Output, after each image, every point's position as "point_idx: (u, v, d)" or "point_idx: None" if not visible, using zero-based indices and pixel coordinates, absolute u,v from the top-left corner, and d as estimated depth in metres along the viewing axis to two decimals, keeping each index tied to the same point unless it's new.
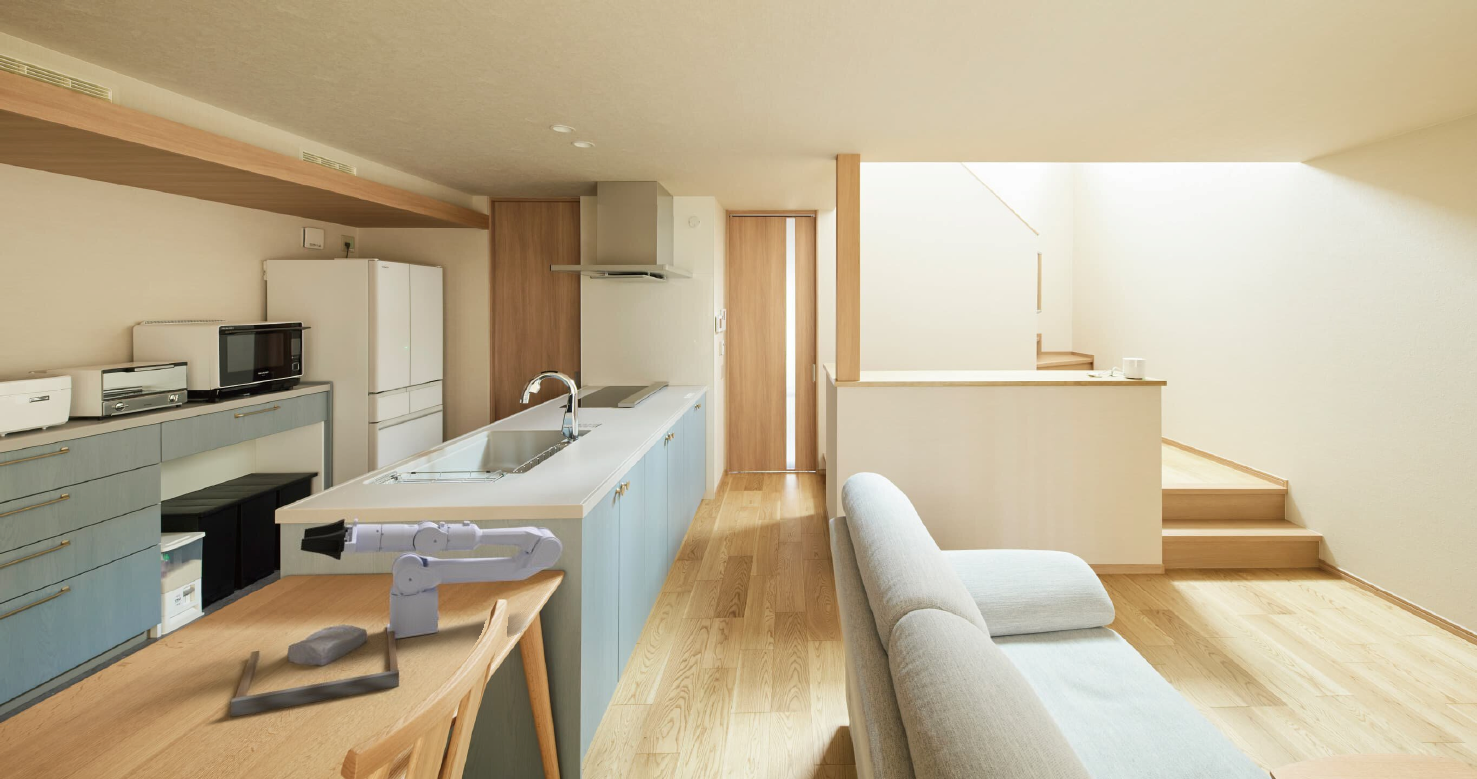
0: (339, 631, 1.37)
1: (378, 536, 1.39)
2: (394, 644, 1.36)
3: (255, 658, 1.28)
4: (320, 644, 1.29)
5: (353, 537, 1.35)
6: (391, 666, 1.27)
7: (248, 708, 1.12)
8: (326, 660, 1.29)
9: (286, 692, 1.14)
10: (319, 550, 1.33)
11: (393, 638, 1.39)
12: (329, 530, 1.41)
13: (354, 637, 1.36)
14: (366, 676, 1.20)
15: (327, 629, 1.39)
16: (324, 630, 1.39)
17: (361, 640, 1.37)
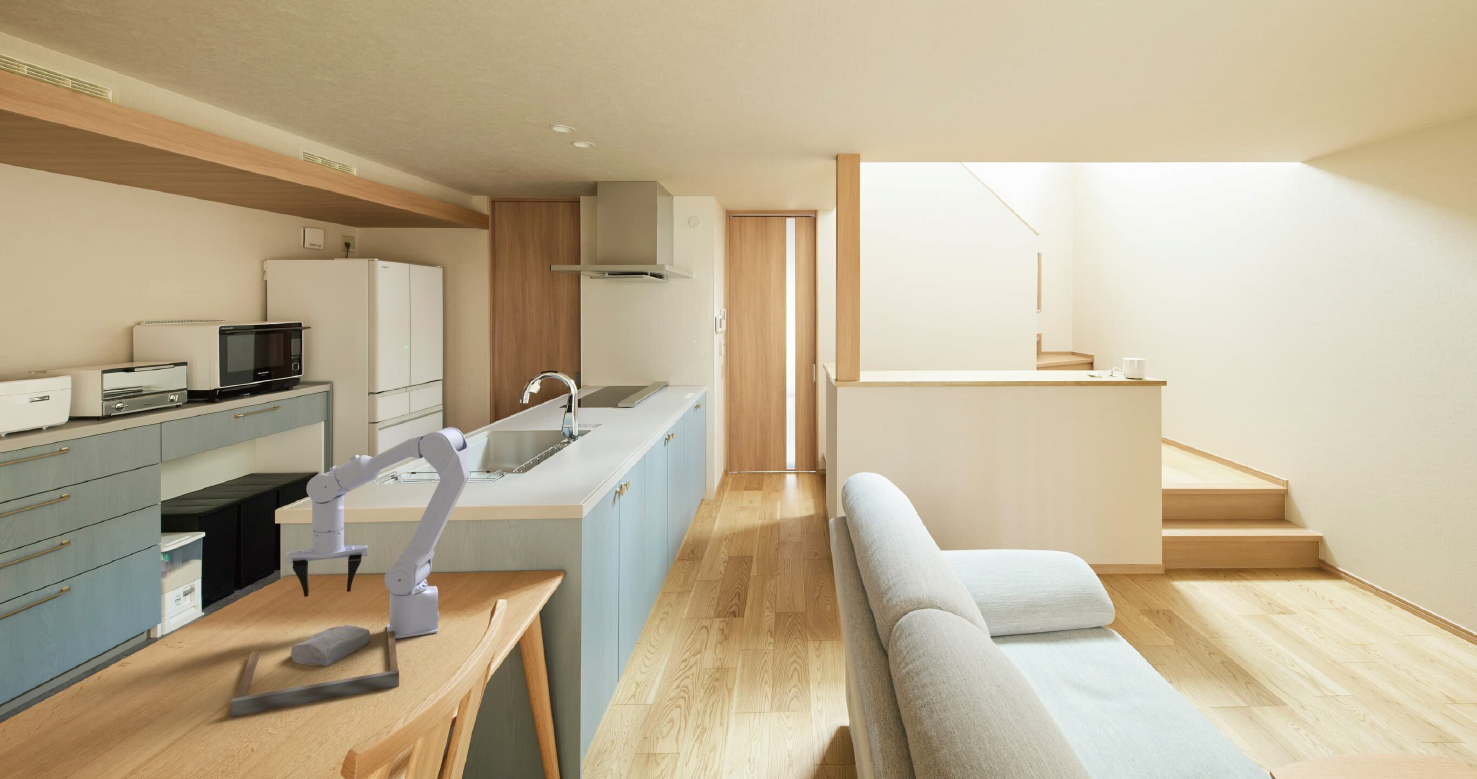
0: (342, 631, 1.37)
1: None
2: (394, 644, 1.36)
3: (255, 658, 1.28)
4: (323, 645, 1.29)
5: None
6: (391, 666, 1.27)
7: (248, 708, 1.12)
8: (330, 660, 1.29)
9: (286, 692, 1.14)
10: None
11: (393, 638, 1.39)
12: None
13: (357, 637, 1.36)
14: (366, 676, 1.20)
15: (330, 629, 1.39)
16: (327, 630, 1.38)
17: (364, 640, 1.37)
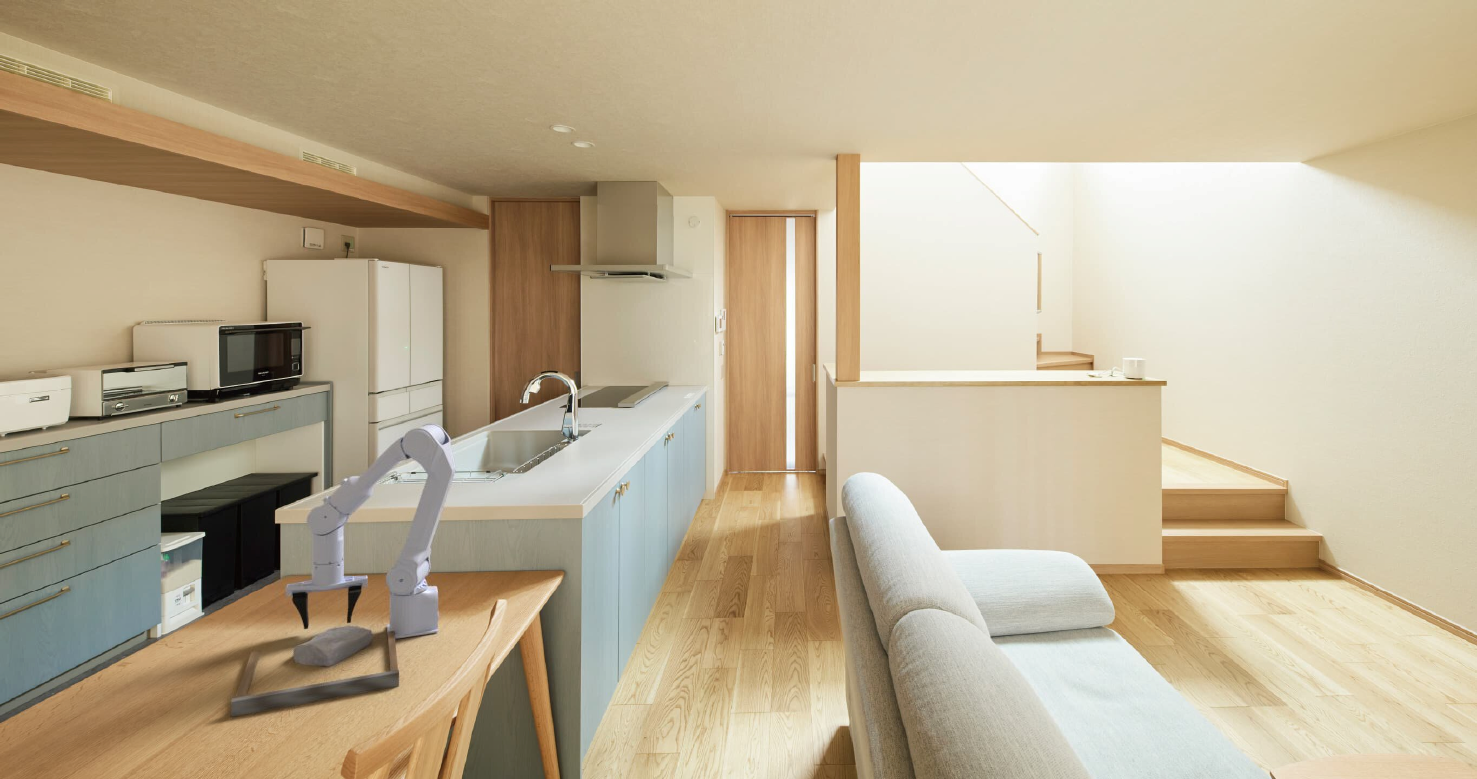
0: (345, 632, 1.36)
1: None
2: (394, 644, 1.36)
3: (255, 658, 1.28)
4: (326, 645, 1.29)
5: None
6: (391, 666, 1.27)
7: (248, 708, 1.12)
8: (332, 661, 1.29)
9: (286, 692, 1.14)
10: None
11: (393, 638, 1.39)
12: None
13: (360, 638, 1.35)
14: (366, 676, 1.20)
15: (332, 630, 1.39)
16: (329, 631, 1.38)
17: (366, 641, 1.37)
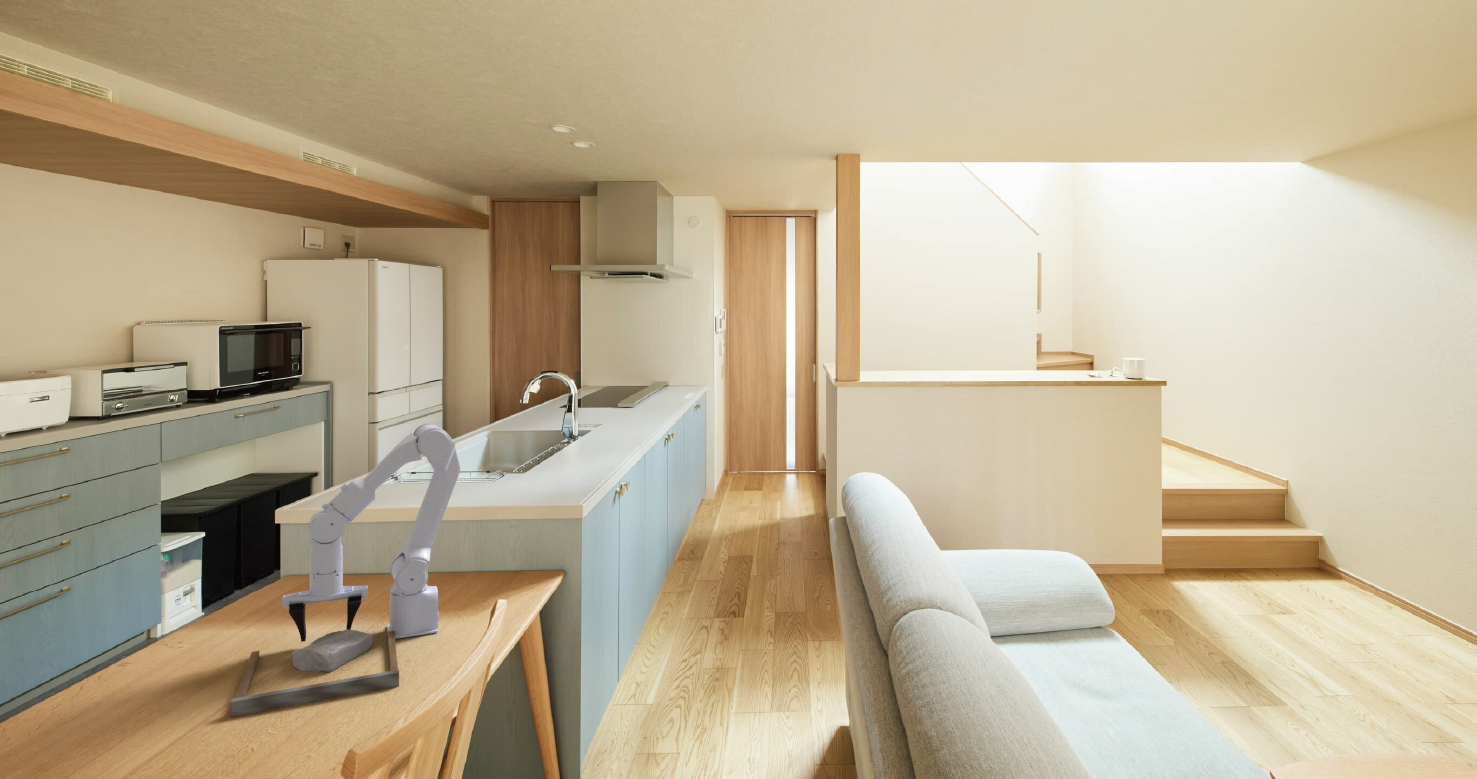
0: (344, 636, 1.34)
1: None
2: (394, 644, 1.36)
3: (255, 658, 1.28)
4: (326, 650, 1.27)
5: None
6: (391, 666, 1.27)
7: (248, 708, 1.12)
8: (332, 665, 1.27)
9: (286, 692, 1.14)
10: None
11: (393, 638, 1.39)
12: None
13: (360, 642, 1.33)
14: (366, 676, 1.20)
15: (331, 634, 1.36)
16: (328, 635, 1.36)
17: (366, 645, 1.35)
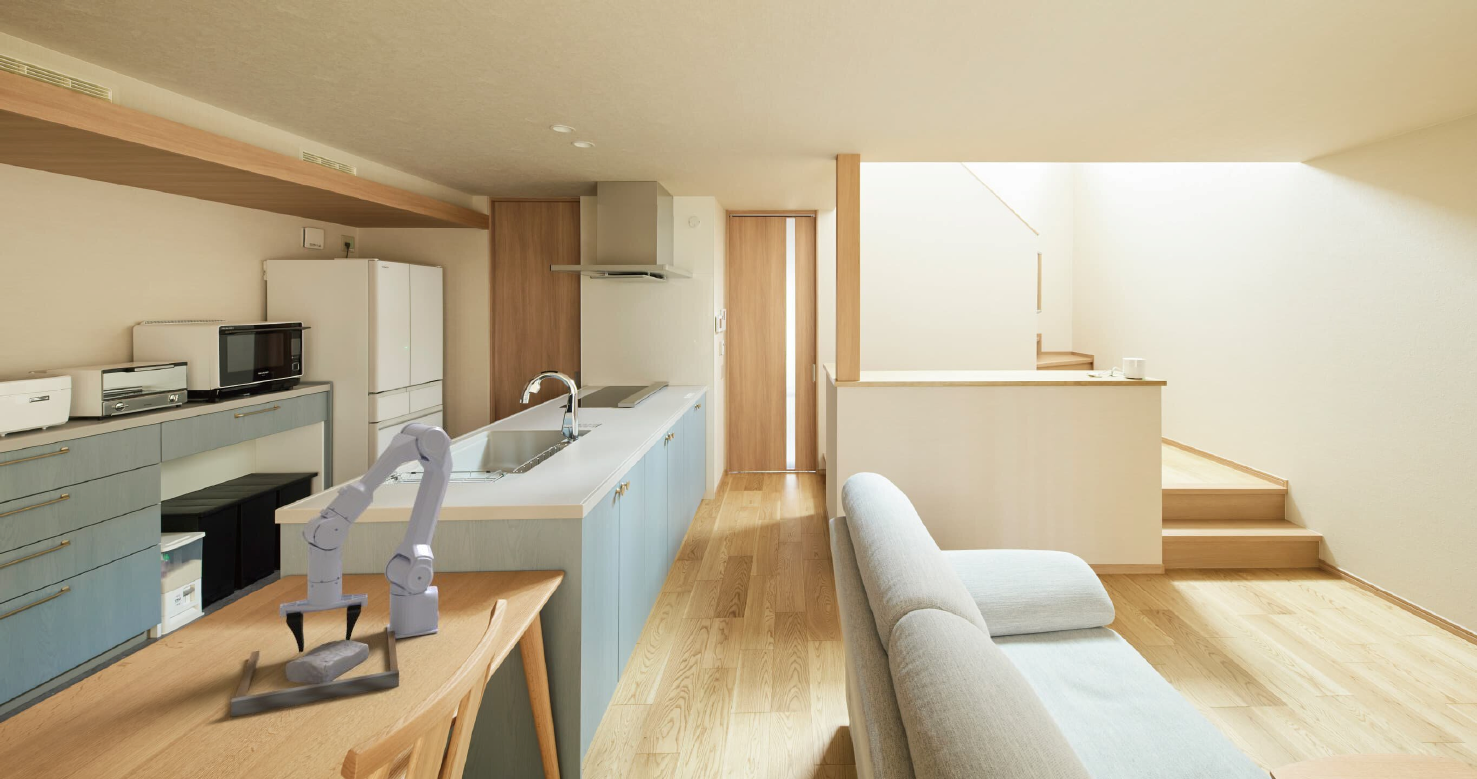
0: (339, 647, 1.30)
1: None
2: (394, 644, 1.36)
3: (255, 658, 1.28)
4: (320, 662, 1.23)
5: None
6: (391, 666, 1.27)
7: (248, 708, 1.12)
8: (327, 678, 1.22)
9: (286, 692, 1.14)
10: None
11: (393, 638, 1.39)
12: None
13: (356, 653, 1.29)
14: (366, 676, 1.20)
15: (326, 645, 1.32)
16: (323, 646, 1.32)
17: (362, 656, 1.31)
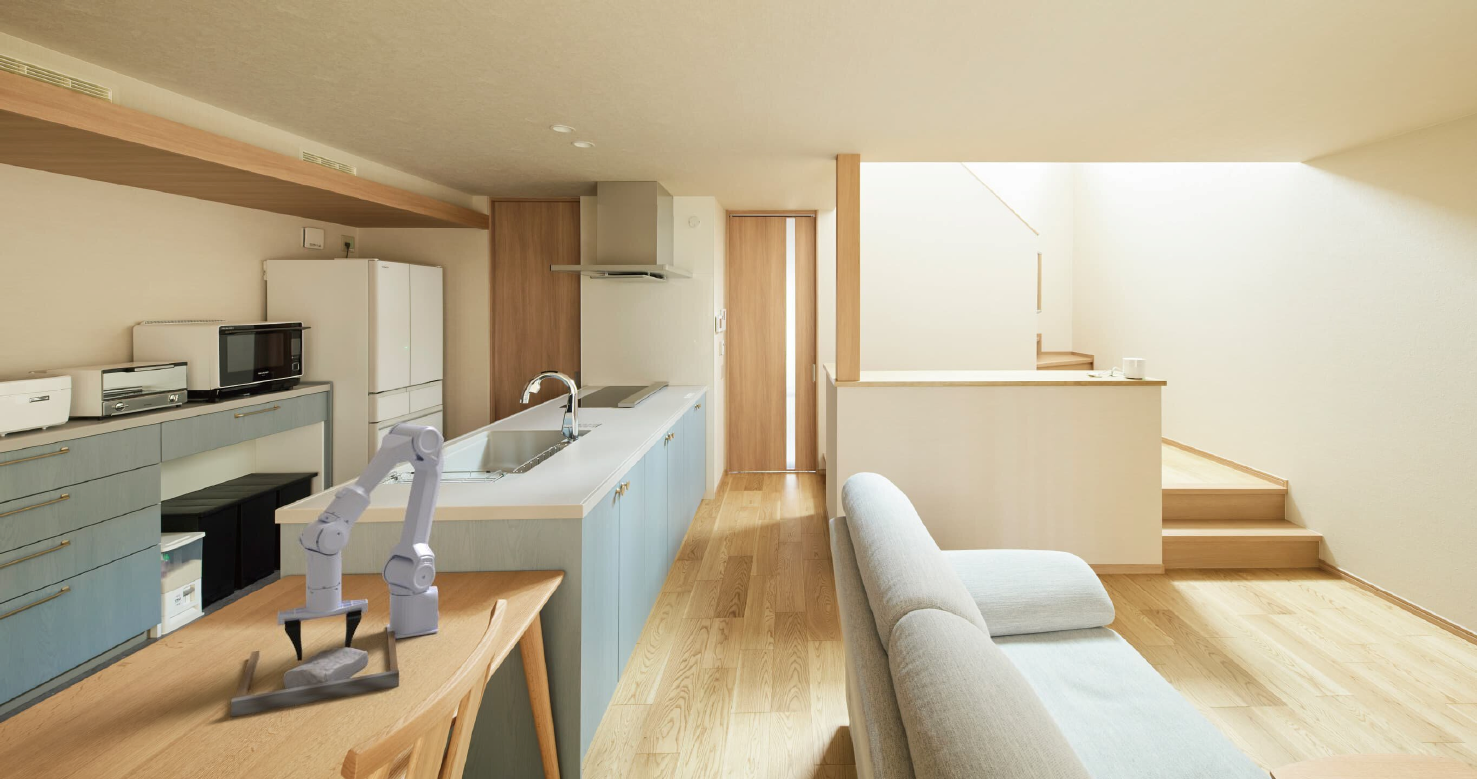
0: (338, 654, 1.27)
1: None
2: (394, 644, 1.36)
3: (255, 658, 1.28)
4: (320, 670, 1.20)
5: None
6: (391, 666, 1.27)
7: (248, 708, 1.12)
8: None
9: (286, 692, 1.14)
10: None
11: (393, 638, 1.39)
12: (346, 626, 1.32)
13: (356, 660, 1.26)
14: (366, 676, 1.20)
15: (324, 652, 1.29)
16: (321, 654, 1.28)
17: (362, 663, 1.28)
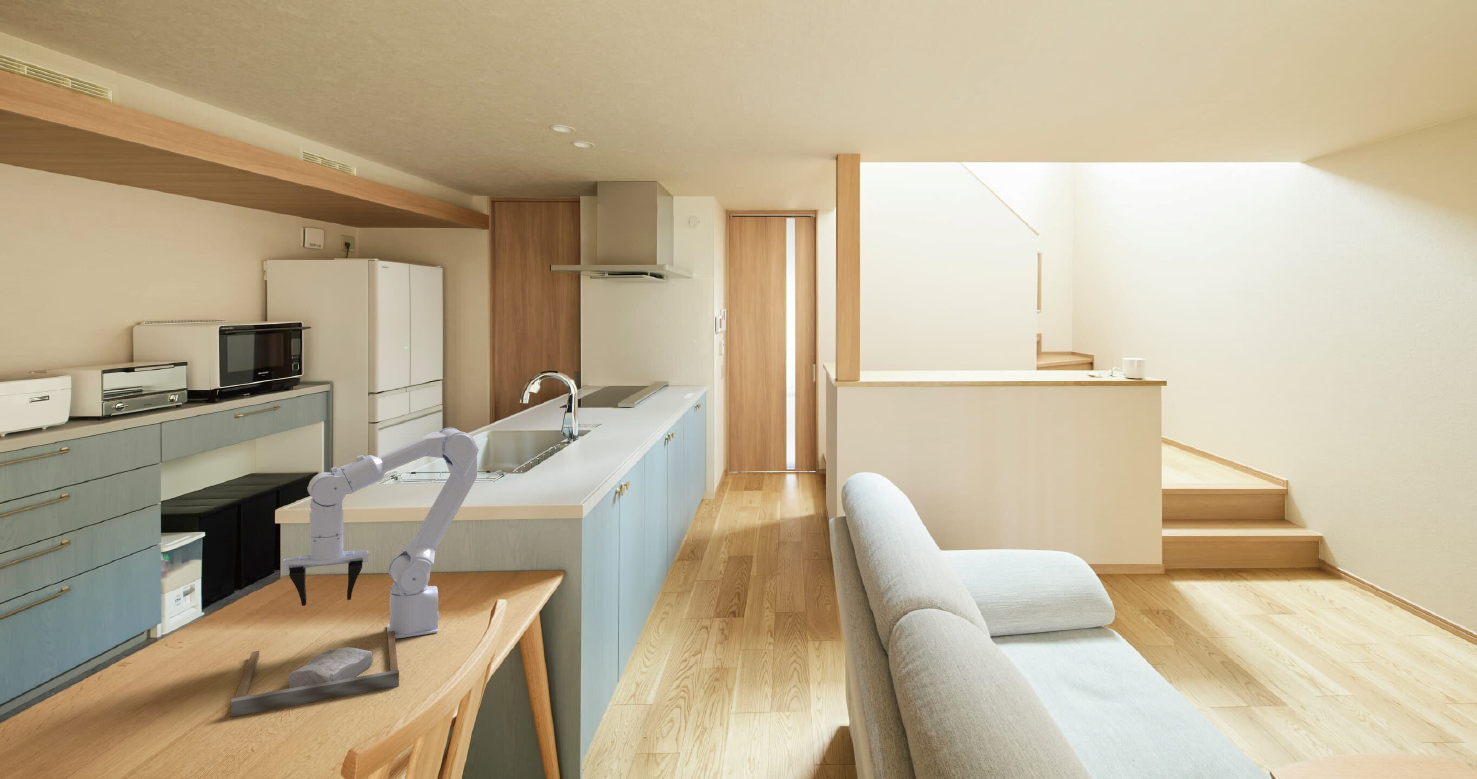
0: (343, 655, 1.27)
1: None
2: (394, 644, 1.36)
3: (255, 658, 1.28)
4: (326, 671, 1.19)
5: None
6: (391, 666, 1.27)
7: (248, 708, 1.12)
8: None
9: (286, 692, 1.14)
10: None
11: (393, 638, 1.39)
12: None
13: (360, 660, 1.26)
14: (366, 676, 1.20)
15: (328, 653, 1.29)
16: (325, 654, 1.28)
17: (367, 663, 1.28)
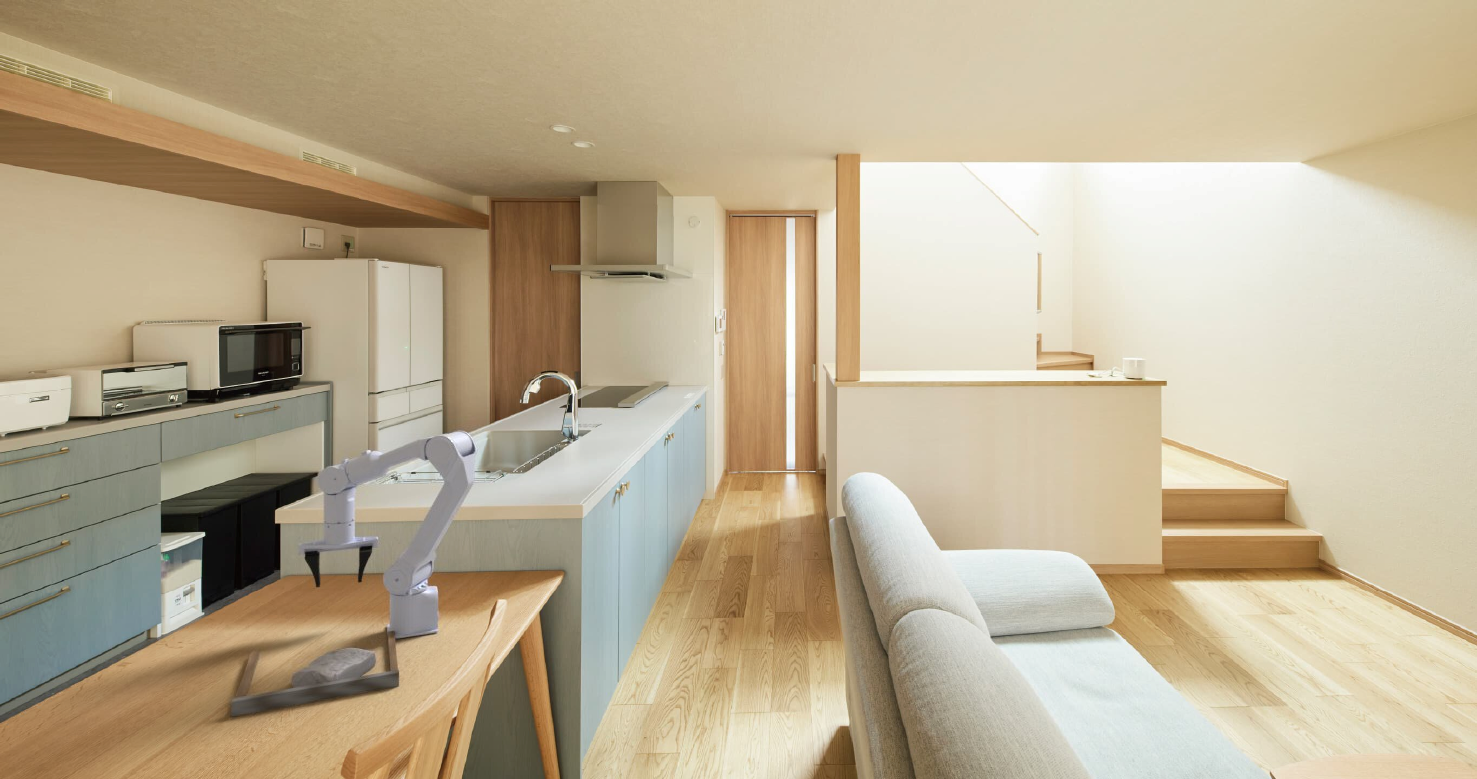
0: (346, 655, 1.27)
1: None
2: (394, 644, 1.36)
3: (255, 658, 1.28)
4: (330, 671, 1.19)
5: None
6: (391, 666, 1.27)
7: (248, 708, 1.12)
8: None
9: (286, 692, 1.14)
10: None
11: (393, 638, 1.39)
12: None
13: (364, 661, 1.26)
14: (366, 676, 1.20)
15: (331, 653, 1.29)
16: (328, 654, 1.28)
17: (370, 664, 1.28)
